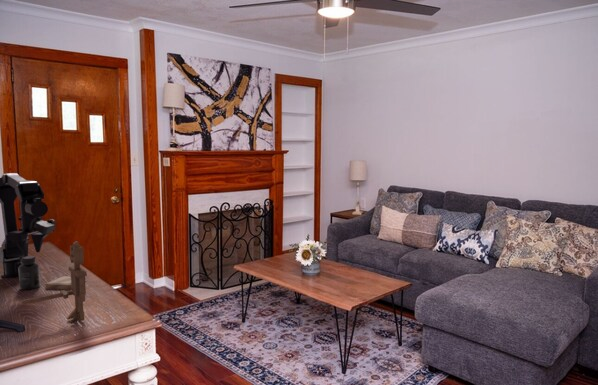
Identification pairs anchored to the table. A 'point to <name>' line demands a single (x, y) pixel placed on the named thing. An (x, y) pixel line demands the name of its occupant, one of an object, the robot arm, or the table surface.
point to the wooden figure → (76, 283)
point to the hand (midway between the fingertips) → (32, 254)
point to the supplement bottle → (29, 273)
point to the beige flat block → (60, 283)
